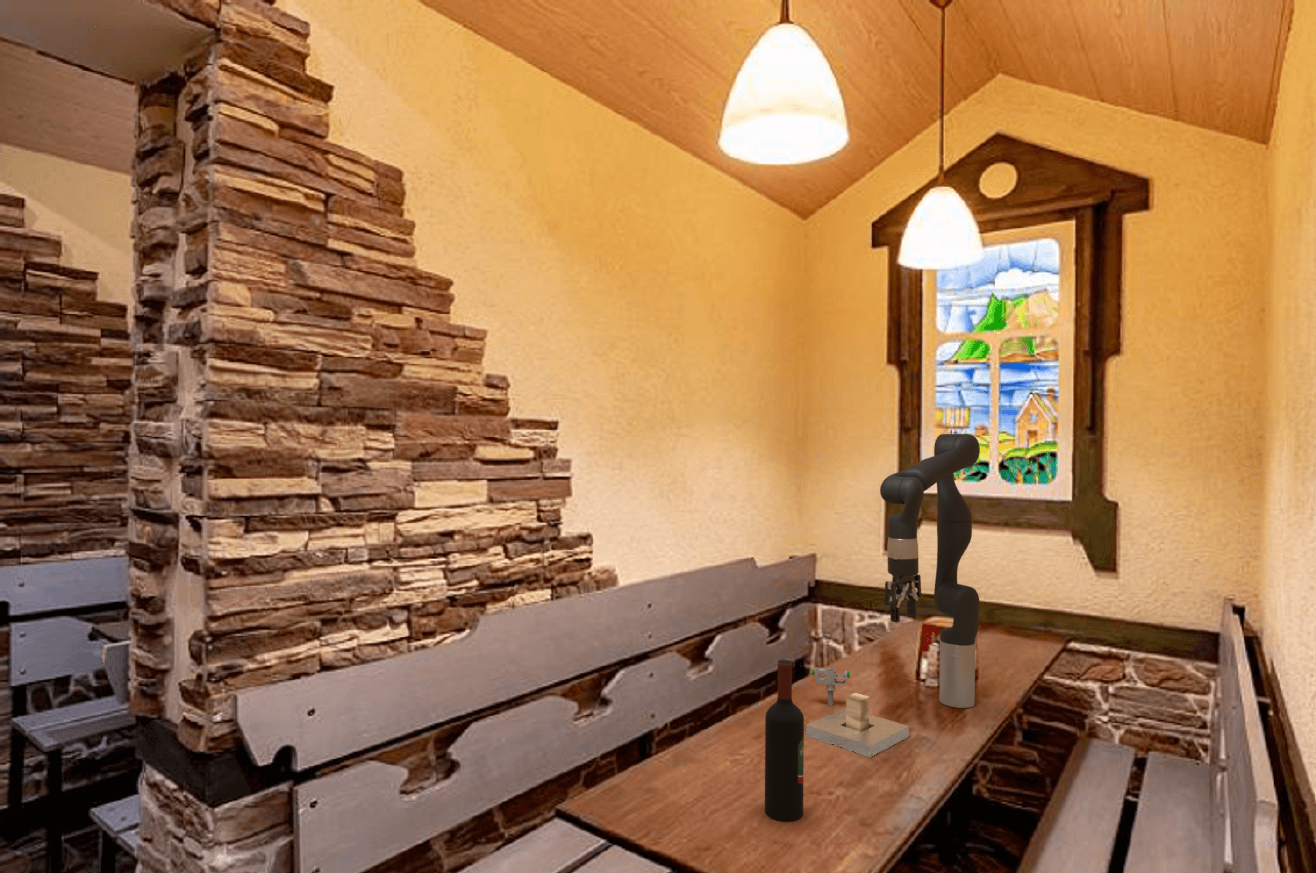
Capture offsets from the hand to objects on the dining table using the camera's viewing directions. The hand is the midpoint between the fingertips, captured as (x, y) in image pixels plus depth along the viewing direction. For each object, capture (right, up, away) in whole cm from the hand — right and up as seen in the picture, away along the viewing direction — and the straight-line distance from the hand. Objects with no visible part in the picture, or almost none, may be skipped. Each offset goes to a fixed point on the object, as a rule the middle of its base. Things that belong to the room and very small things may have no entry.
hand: (903, 618), depth 201 cm
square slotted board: (-13, -28, -5) cm, 31 cm away
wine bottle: (-38, -29, -44) cm, 64 cm away
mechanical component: (-15, -28, +17) cm, 36 cm away
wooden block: (-13, -28, -5) cm, 31 cm away
